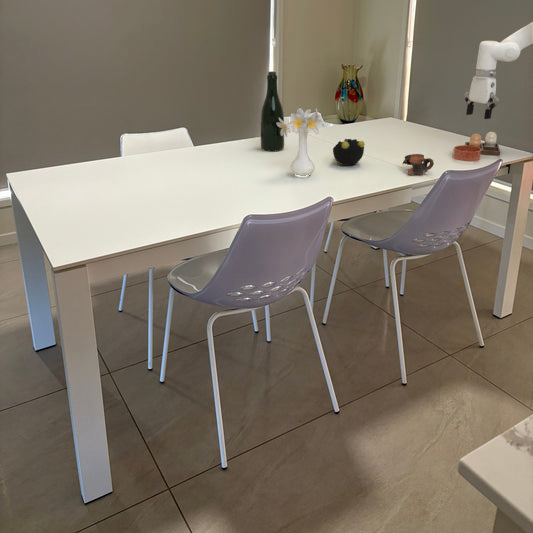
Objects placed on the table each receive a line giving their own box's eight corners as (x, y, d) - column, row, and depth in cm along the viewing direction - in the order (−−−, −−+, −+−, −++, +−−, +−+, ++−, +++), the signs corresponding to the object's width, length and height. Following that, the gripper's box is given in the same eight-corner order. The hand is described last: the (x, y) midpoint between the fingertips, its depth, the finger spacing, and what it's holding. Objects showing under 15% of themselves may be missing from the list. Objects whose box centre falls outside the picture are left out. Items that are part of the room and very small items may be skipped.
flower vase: (271, 177, 223) (271, 110, 212) (308, 168, 233) (310, 104, 222) (293, 185, 214) (294, 115, 203) (331, 175, 224) (333, 109, 213)
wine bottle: (259, 151, 258) (258, 73, 243) (261, 146, 267) (260, 70, 253) (283, 152, 257) (284, 73, 243) (284, 146, 266) (284, 69, 252)
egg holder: (497, 149, 258) (498, 143, 257) (499, 157, 246) (500, 151, 245) (464, 147, 261) (465, 141, 260) (464, 155, 249) (465, 149, 248)
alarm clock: (360, 169, 244) (376, 139, 235) (344, 179, 233) (360, 148, 224) (337, 154, 247) (352, 123, 238) (320, 163, 236) (336, 131, 227)
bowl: (479, 156, 247) (481, 146, 245) (480, 163, 237) (482, 152, 235) (452, 155, 249) (453, 144, 248) (452, 162, 240) (453, 151, 238)
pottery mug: (400, 176, 224) (399, 154, 225) (407, 181, 233) (406, 160, 233) (431, 171, 218) (430, 150, 219) (438, 177, 227) (437, 156, 227)
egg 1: (479, 151, 252) (481, 132, 249) (479, 153, 248) (482, 135, 245) (468, 150, 254) (470, 132, 250) (468, 153, 250) (470, 134, 246)
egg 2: (494, 148, 257) (497, 130, 253) (495, 151, 253) (498, 133, 249) (483, 148, 258) (486, 130, 254) (483, 150, 254) (486, 132, 250)
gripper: (508, 75, 232) (501, 119, 239) (475, 70, 246) (468, 112, 253) (495, 77, 229) (488, 121, 236) (462, 71, 242) (456, 113, 250)
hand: (478, 116), depth 245 cm, fingers open, 9 cm apart
